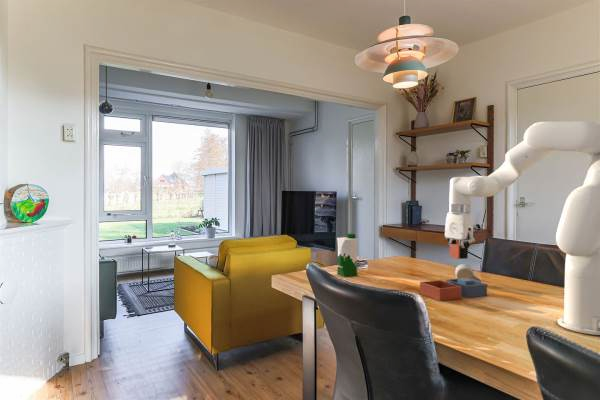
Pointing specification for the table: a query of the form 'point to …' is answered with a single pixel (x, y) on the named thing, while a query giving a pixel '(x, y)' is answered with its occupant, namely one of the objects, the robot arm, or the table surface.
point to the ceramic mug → (465, 272)
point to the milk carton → (347, 255)
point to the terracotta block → (455, 250)
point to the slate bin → (471, 288)
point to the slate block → (465, 281)
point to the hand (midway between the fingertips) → (458, 256)
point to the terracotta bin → (440, 290)
